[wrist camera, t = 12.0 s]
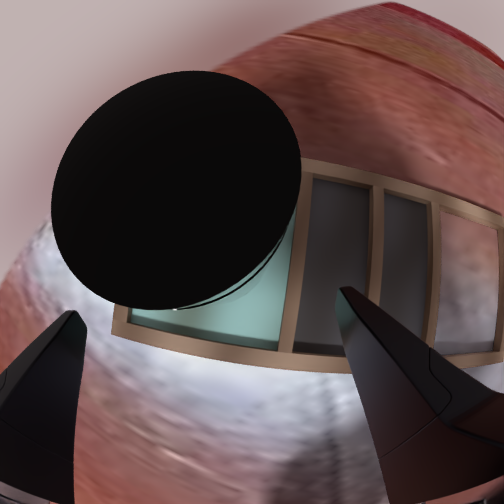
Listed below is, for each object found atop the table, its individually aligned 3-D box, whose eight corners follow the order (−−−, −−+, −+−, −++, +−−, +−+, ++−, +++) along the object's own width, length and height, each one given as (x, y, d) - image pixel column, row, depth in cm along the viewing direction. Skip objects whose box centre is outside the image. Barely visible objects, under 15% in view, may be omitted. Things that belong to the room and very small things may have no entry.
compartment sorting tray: (501, 222, 17) (508, 219, 16) (496, 360, 15) (503, 361, 14) (158, 149, 18) (154, 142, 17) (118, 332, 16) (111, 334, 15)
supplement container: (293, 235, 16) (351, 137, 6) (227, 328, 15) (183, 376, 5) (205, 177, 17) (161, 50, 7) (140, 261, 16) (21, 208, 6)
